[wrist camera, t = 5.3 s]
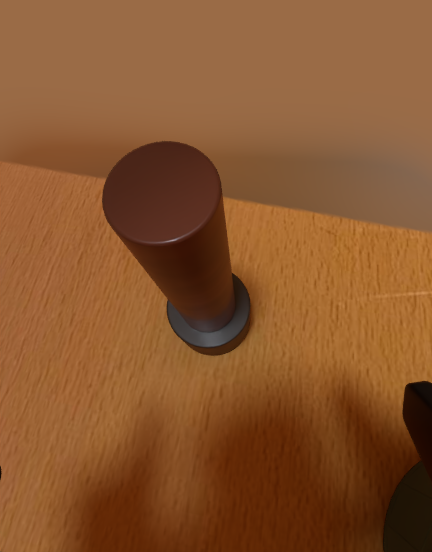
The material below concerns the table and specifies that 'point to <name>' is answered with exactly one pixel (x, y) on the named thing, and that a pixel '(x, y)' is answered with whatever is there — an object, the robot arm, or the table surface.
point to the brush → (180, 240)
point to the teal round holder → (410, 514)
